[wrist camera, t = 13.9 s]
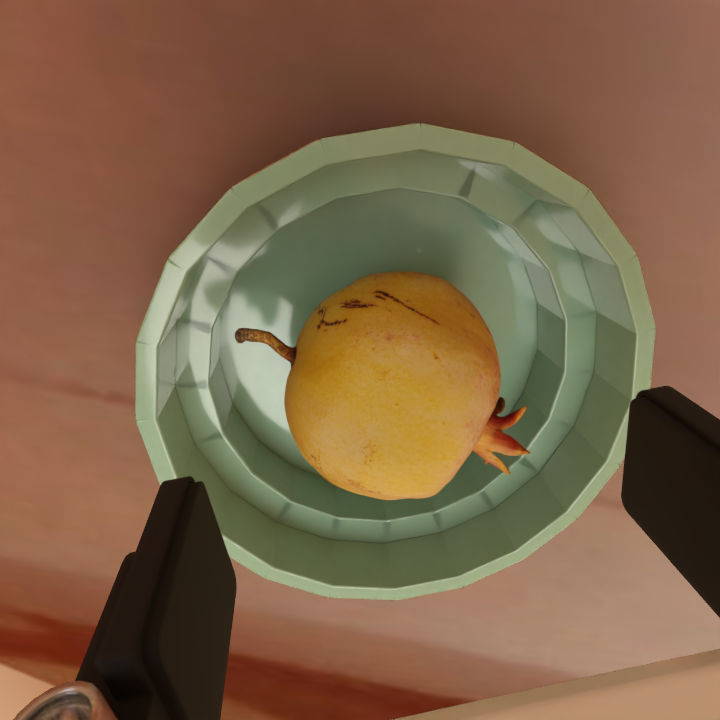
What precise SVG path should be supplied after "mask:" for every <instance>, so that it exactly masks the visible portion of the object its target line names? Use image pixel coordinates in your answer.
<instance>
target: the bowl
mask: <svg viewBox="0 0 720 720" xmlns="http://www.w3.org/2000/svg"><path fill="white" fill-rule="evenodd" d="M391 271H410V272H419V273H424V274H429V275H433V276H436V277H439V278H441V279H444V280H445V281H447V282H448V283H450V284H452V285H453V286H454V287H456V288H457V289H458V290H459V291H460V292H462V293H463V294H464V295H465V296H466V297H467V298H468V299H469V300H470V301H471V302H472V303H473V304H474V306H475V307H476V308H477V310H478V311H479V313H480V314H481V316H482V318H483V320H484V321H485V323H486V325H487V326H488V328H489V330H490V332H491V334H492V337H493V340H494V343H495V346H496V350H497V353H498V359H499V365H500V372H501V384H500V392H499V397H503V398H504V400H505V408H504V410H503V411H502V412H501V413H500V414H498V415H497V416H500V417H504V416H506V415H508V414H510V413H512V412H514V411H516V410H518V409H520V408H522V407H524V406H527V408H526V411H525V413H524V415H523V416H522V417H521V418H520V419H519V420H518V421H517V423H515V424H514V425H512V426H511V427H509V428H508V429H505V430H502V432H503V433H505V434H507V435H510V436H511V437H513V438H514V439H515V440H517V441H518V442H519V443H520V444H521V445H522V446H523V447H524V448H525V449H527V450H528V451H529V452H531V453H530V454H525V455H518V456H510V455H504V454H501V453H498V452H492V453H493V454H494V455H495V456H497V457H498V458H499V459H500V460H501V461H502V462H503V463H504V464H505V465H506V466H507V467H508V469H509V472H510V473H511V474H505V473H504V472H502V471H501V470H500V469H498V468H497V467H495V466H494V465H492V464H491V463H489V462H488V464H487V465H486V464H485V463H484V459H483V458H481V457H480V456H479V455H478V454H476V453H475V452H473V451H472V452H471V454H470V455H469V456H468V458H467V459H466V460H465V462H464V463H463V465H462V466H461V467H460V469H459V470H458V472H457V473H456V475H455V476H454V478H453V479H452V480H451V481H450V482H448V483H447V484H446V485H445V486H444V487H443V488H442V489H441V490H440V491H439V492H438V493H437V494H435V495H433V496H432V497H428V498H420V499H415V498H405V499H398V500H382V499H377V498H373V497H368V496H364V495H359V494H356V493H353V492H350V491H347V490H344V489H342V488H340V487H337V486H335V485H333V484H332V483H330V482H329V481H327V480H326V479H325V478H324V477H323V476H322V475H321V474H320V473H319V472H318V471H317V470H316V469H315V468H314V467H313V466H312V465H311V464H310V463H309V462H307V461H306V460H305V458H304V457H303V455H302V454H301V452H300V450H299V449H298V447H297V445H296V443H295V441H294V438H293V436H292V434H291V431H290V429H289V425H288V422H287V418H286V413H285V406H284V396H285V388H286V382H287V377H288V375H289V372H290V370H291V363H290V362H289V361H288V360H286V359H285V358H283V357H282V356H280V355H279V354H278V353H277V352H276V351H275V350H273V349H272V348H271V347H270V346H269V345H267V344H265V343H261V342H249V341H245V342H244V343H237V341H236V339H235V332H236V331H237V330H238V329H239V328H251V329H259V330H263V331H268V332H270V333H272V334H273V335H274V336H276V337H277V338H278V339H279V340H280V341H282V342H283V343H284V344H285V345H287V346H289V347H292V348H293V347H295V346H296V343H297V338H298V336H299V334H300V332H301V330H302V328H303V326H304V324H305V322H306V321H307V319H308V318H309V316H310V315H311V314H312V312H313V311H314V310H315V309H316V308H317V306H318V305H319V304H320V303H321V302H322V301H323V300H325V299H326V298H327V297H329V296H330V295H332V294H334V293H335V292H337V291H339V290H341V289H343V288H345V287H347V286H349V285H350V284H351V283H352V282H354V281H355V280H357V279H359V278H361V277H364V276H366V275H369V274H375V273H381V272H391ZM655 327H656V326H655V322H654V318H653V314H652V310H651V306H650V302H649V299H648V295H647V291H646V287H645V283H644V279H643V275H642V271H641V267H640V263H639V259H638V256H637V255H636V253H635V251H634V250H633V248H632V247H631V246H630V244H629V243H628V241H627V240H626V239H625V237H624V236H623V234H622V233H621V232H620V230H619V229H618V228H617V226H616V225H615V223H614V222H613V221H612V219H611V218H610V216H609V215H608V214H607V212H606V211H605V210H604V208H603V207H602V205H601V204H600V203H599V201H598V200H597V198H596V197H595V196H594V194H593V193H592V192H591V190H589V188H588V187H587V186H585V185H583V184H582V183H580V182H579V181H577V180H575V179H574V178H572V177H571V176H569V175H568V174H566V173H564V172H563V171H561V170H560V169H558V168H556V167H555V166H553V165H552V164H550V163H548V162H547V161H545V160H544V159H542V158H541V157H539V156H537V155H536V154H534V153H533V152H531V151H529V150H528V149H526V148H525V147H523V146H522V145H520V144H518V143H517V142H513V141H511V140H506V139H501V138H496V137H491V136H486V135H481V134H476V133H471V132H466V131H460V130H455V129H450V128H445V127H440V126H435V125H430V124H425V123H420V124H419V123H413V124H407V125H401V126H395V127H388V128H382V129H376V130H370V131H363V132H357V133H351V134H345V135H338V136H332V137H326V138H320V139H317V140H313V141H312V142H310V143H308V144H306V145H304V146H302V147H301V148H299V149H297V150H295V151H293V152H291V153H290V154H288V155H286V156H284V157H282V158H280V159H279V160H277V161H275V162H273V163H271V164H269V165H268V166H266V167H264V168H262V169H260V170H259V171H257V172H255V173H253V174H251V175H249V176H248V177H246V178H245V179H243V180H241V181H240V182H238V183H237V184H235V185H233V187H232V188H230V189H229V190H228V191H227V192H226V193H225V194H224V195H223V196H222V197H221V199H220V200H219V201H218V202H217V203H216V204H215V205H214V206H213V208H212V209H211V210H210V211H209V212H208V213H207V214H206V215H205V217H204V218H203V219H202V220H201V221H200V222H199V223H198V224H197V226H196V227H195V228H194V229H193V230H192V231H191V232H190V233H189V235H188V236H187V237H186V238H185V239H184V240H183V241H182V242H181V244H180V245H179V246H178V247H177V248H176V249H175V250H174V251H173V253H172V254H171V255H170V256H169V258H168V260H167V261H166V263H165V265H164V268H163V271H162V273H161V276H160V278H159V281H158V284H157V286H156V289H155V291H154V294H153V296H152V299H151V302H150V304H149V307H148V309H147V312H146V314H145V317H144V320H143V322H142V325H141V327H140V330H139V333H138V335H137V341H136V355H135V418H136V423H137V426H138V428H139V431H140V434H141V436H142V439H143V442H144V444H145V447H146V449H147V452H148V455H149V457H150V460H151V463H152V465H153V468H154V471H155V473H156V476H157V479H158V481H159V484H160V486H161V484H162V482H163V481H166V480H172V479H177V478H182V477H187V476H191V477H193V478H194V480H195V482H198V481H202V482H203V483H204V485H205V487H206V490H207V493H208V496H209V499H210V502H211V505H212V508H213V511H214V514H215V516H216V519H217V522H218V525H219V528H220V531H221V534H222V537H223V540H224V543H225V546H226V549H227V552H228V555H229V557H230V558H232V559H234V560H235V561H237V562H238V563H240V564H241V565H243V566H245V567H246V568H248V569H249V570H251V571H253V572H254V573H256V574H257V575H259V576H260V577H262V578H265V579H267V580H270V581H274V582H277V583H280V584H284V585H287V586H291V587H294V588H297V589H301V590H304V591H307V592H311V593H314V594H317V595H321V596H324V597H328V596H329V598H349V599H373V600H401V599H406V598H412V597H417V596H422V595H427V594H432V593H437V592H443V591H448V590H453V589H458V588H461V587H464V586H467V585H469V584H471V583H473V582H476V581H478V580H480V579H482V578H485V577H487V576H489V575H491V574H494V573H496V572H498V571H500V570H503V569H505V568H507V567H509V566H512V565H514V564H516V563H518V562H521V561H522V560H523V559H525V558H527V557H528V556H529V555H531V554H532V553H533V552H535V551H536V550H537V549H539V548H540V547H541V546H543V545H544V544H545V543H546V542H548V541H549V540H550V539H552V538H553V537H554V536H556V535H557V534H558V533H560V532H561V531H562V530H564V529H565V528H566V527H568V526H569V525H570V524H572V523H573V522H574V521H575V520H577V518H578V517H580V515H581V514H582V513H583V512H584V510H585V509H586V508H587V507H588V505H589V504H590V503H591V502H592V500H593V499H594V498H595V497H596V495H597V494H598V493H599V492H600V490H601V489H602V488H603V487H604V485H605V484H606V483H607V482H608V480H609V479H610V478H611V477H612V475H613V474H614V473H615V472H616V470H617V469H618V468H619V467H620V464H621V463H622V461H623V459H624V457H625V450H626V439H627V429H628V418H629V407H630V402H631V401H632V400H633V399H635V398H636V395H637V394H638V392H640V391H641V390H647V389H650V384H651V374H652V364H653V353H654V343H655V333H656V329H655ZM499 397H498V399H499Z"/></svg>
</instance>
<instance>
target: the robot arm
mask: <svg viewBox="0 0 720 720" xmlns="http://www.w3.org/2000/svg"><path fill="white" fill-rule="evenodd" d="M621 498H622V502H623V505H624V507H625V509H626V511H627V512H628V514H629V515H630V516H631V517H632V518H633V519H634V520H635V522H636V523H637V524H638V525H639V526H640V527H641V528H642V530H643V531H644V532H645V533H646V534H647V535H648V536H649V538H650V539H651V540H652V541H653V542H654V543H655V544H656V546H657V547H658V548H659V549H660V550H661V551H662V552H663V554H664V555H665V556H666V557H667V558H668V559H669V560H670V562H671V563H672V564H673V565H674V566H675V567H676V568H677V570H678V571H679V572H680V573H681V574H682V575H683V576H684V578H685V579H686V580H687V581H688V582H689V583H690V584H691V585H692V587H693V588H694V589H695V590H696V591H697V592H698V593H699V595H700V596H701V597H702V598H703V599H704V600H705V601H706V603H707V604H708V605H709V606H710V607H711V608H712V609H713V611H714V612H715V613H716V614H717V615H718V616H719V617H720V420H719V419H718V418H716V417H715V416H713V415H712V414H710V413H709V412H707V411H706V410H704V409H703V408H702V407H700V406H699V405H697V404H696V403H694V402H693V401H691V400H690V399H688V398H687V397H685V396H684V395H682V394H681V393H679V392H678V391H676V390H675V389H673V388H672V387H669V386H662V387H657V388H652V389H647V390H641V391H640V392H638V394H637V395H636V398H635V399H633V400H632V401H631V402H630V407H629V418H628V429H627V439H626V450H625V461H624V471H623V482H622V493H621ZM235 597H236V577H235V572H234V569H233V566H232V563H231V560H230V558H229V555H228V552H227V549H226V546H225V543H224V540H223V537H222V534H221V531H220V528H219V525H218V522H217V519H216V516H215V514H214V511H213V508H212V505H211V502H210V499H209V496H208V493H207V490H206V487H205V485H204V483H203V482H202V481H198V482H195V480H194V478H193V477H191V476H187V477H182V478H177V479H172V480H166V481H163V482H162V484H161V486H160V488H159V491H158V494H157V496H156V499H155V502H154V504H153V507H152V510H151V512H150V515H149V518H148V520H147V523H146V526H145V528H144V531H143V534H142V536H141V539H140V542H139V544H138V547H137V550H136V552H132V553H129V554H128V555H127V556H126V557H125V559H124V561H123V562H122V565H121V567H120V570H119V572H118V575H117V577H116V580H115V582H114V585H113V587H112V590H111V592H110V595H109V597H108V600H107V602H106V605H105V607H104V610H103V612H102V615H101V617H100V620H99V622H98V625H97V627H96V630H95V633H94V635H93V638H92V640H91V643H90V645H89V648H88V650H87V653H86V655H85V658H84V660H83V663H82V665H81V668H80V670H79V673H78V675H77V678H76V680H75V681H73V682H66V683H63V684H61V685H58V686H56V687H53V688H51V689H49V690H48V691H46V692H44V693H43V694H41V695H40V696H38V697H37V698H35V699H34V700H33V701H31V702H30V703H29V704H28V705H27V706H26V707H25V708H24V709H23V710H21V711H20V712H19V713H18V714H17V716H16V717H15V718H14V719H13V720H220V717H221V709H222V701H223V693H224V685H225V677H226V669H227V661H228V653H229V645H230V637H231V629H232V621H233V613H234V605H235ZM394 720H720V649H717V650H713V651H708V652H703V653H698V654H694V655H689V656H684V657H679V658H675V659H670V660H665V661H660V662H656V663H651V664H646V665H641V666H637V667H632V668H627V669H623V670H618V671H613V672H609V673H604V674H599V675H595V676H590V677H585V678H581V679H576V680H572V681H567V682H562V683H558V684H553V685H548V686H544V687H539V688H535V689H530V690H525V691H521V692H516V693H512V694H507V695H502V696H498V697H493V698H489V699H484V700H479V701H475V702H470V703H466V704H461V705H457V706H452V707H448V708H443V709H439V710H434V711H430V712H425V713H421V714H416V715H412V716H407V717H403V718H398V719H394Z"/></svg>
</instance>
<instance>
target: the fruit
mask: <svg viewBox="0 0 720 720" xmlns="http://www.w3.org/2000/svg"><path fill="white" fill-rule="evenodd" d="M235 339H236V341H237V343H244V342H245V341H249V342H261V343H265V344H267V345H269V346H270V347H271V348H272V349H273V350H275V351H276V352H277V353H278V354H279V355H280V356H282V357H283V358H285V359H286V360H288V361H289V362H290V363H291V370H290V372H289V375H288V377H287V382H286V388H285V396H284V406H285V413H286V418H287V422H288V425H289V429H290V431H291V434H292V436H293V438H294V441H295V443H296V445H297V447H298V449H299V450H300V452H301V454H302V455H303V457H304V458H305V460H306V461H307V462H309V463H310V464H311V465H312V466H313V467H314V468H315V469H316V470H317V471H318V472H319V473H320V474H321V475H322V476H323V477H324V478H325V479H326V480H327V481H329V482H330V483H332V484H333V485H335V486H337V487H340V488H342V489H344V490H347V491H350V492H353V493H356V494H359V495H364V496H368V497H373V498H377V499H382V500H398V499H405V498H415V499H420V498H428V497H432V496H433V495H435V494H437V493H438V492H439V491H440V490H441V489H442V488H443V487H444V486H445V485H446V484H447V483H448V482H450V481H451V480H452V479H453V478H454V476H455V475H456V473H457V472H458V470H459V469H460V467H461V466H462V465H463V463H464V462H465V460H466V459H467V458H468V456H469V455H470V454H471V452H472V451H473V452H475V453H476V454H478V455H479V456H480V457H481V458H483V459H484V463H485V464H486V465H487V464H488V462H489V463H491V464H492V465H494V466H495V467H497V468H498V469H500V470H501V471H502V472H504V473H505V474H511V473H510V472H509V469H508V467H507V466H506V465H505V464H504V463H503V462H502V461H501V460H500V459H499V458H498V457H497V456H495V455H494V454H493V453H492V452H498V453H501V454H504V455H510V456H518V455H525V454H530V453H531V452H529V451H528V450H527V449H525V448H524V447H523V446H522V445H521V444H520V443H519V442H518V441H517V440H515V439H514V438H513V437H511V436H510V435H507V434H505V433H503V432H502V430H505V429H508V428H509V427H511V426H512V425H514V424H515V423H517V421H518V420H519V419H520V418H521V417H522V416H523V415H524V413H525V411H526V408H527V406H524V407H522V408H520V409H518V410H516V411H514V412H512V413H510V414H508V415H506V416H504V417H500V416H497V415H498V414H500V413H501V412H502V411H503V410H504V408H505V400H504V398H503V397H499V392H500V384H501V372H500V365H499V359H498V353H497V350H496V346H495V343H494V340H493V337H492V334H491V332H490V330H489V328H488V326H487V325H486V323H485V321H484V320H483V318H482V316H481V314H480V313H479V311H478V310H477V308H476V307H475V306H474V304H473V303H472V302H471V301H470V300H469V299H468V298H467V297H466V296H465V295H464V294H463V293H462V292H460V291H459V290H458V289H457V288H456V287H454V286H453V285H452V284H450V283H448V282H447V281H445V280H444V279H441V278H439V277H436V276H433V275H429V274H424V273H419V272H410V271H391V272H381V273H375V274H369V275H366V276H364V277H361V278H359V279H357V280H355V281H354V282H352V283H351V284H350V285H349V286H347V287H345V288H343V289H341V290H339V291H337V292H335V293H334V294H332V295H330V296H329V297H327V298H326V299H325V300H323V301H322V302H321V303H320V304H319V305H318V306H317V308H316V309H315V310H314V311H313V312H312V314H311V315H310V316H309V318H308V319H307V321H306V322H305V324H304V326H303V328H302V330H301V332H300V334H299V336H298V338H297V343H296V346H295V347H293V348H292V347H289V346H287V345H285V344H284V343H283V342H282V341H280V340H279V339H278V338H277V337H276V336H274V335H273V334H272V333H270V332H268V331H263V330H259V329H251V328H239V329H238V330H237V331H236V332H235ZM498 397H499V399H498Z"/></svg>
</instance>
